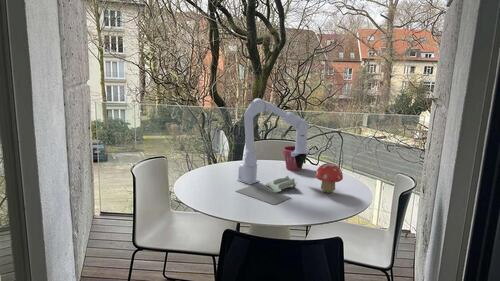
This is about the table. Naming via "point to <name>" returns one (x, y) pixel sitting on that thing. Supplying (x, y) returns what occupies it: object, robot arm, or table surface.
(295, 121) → the robot arm
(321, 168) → the decorative mushroom
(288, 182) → the metal bracket
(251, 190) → the rubber mat
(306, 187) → the table surface
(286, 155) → the plant pot
